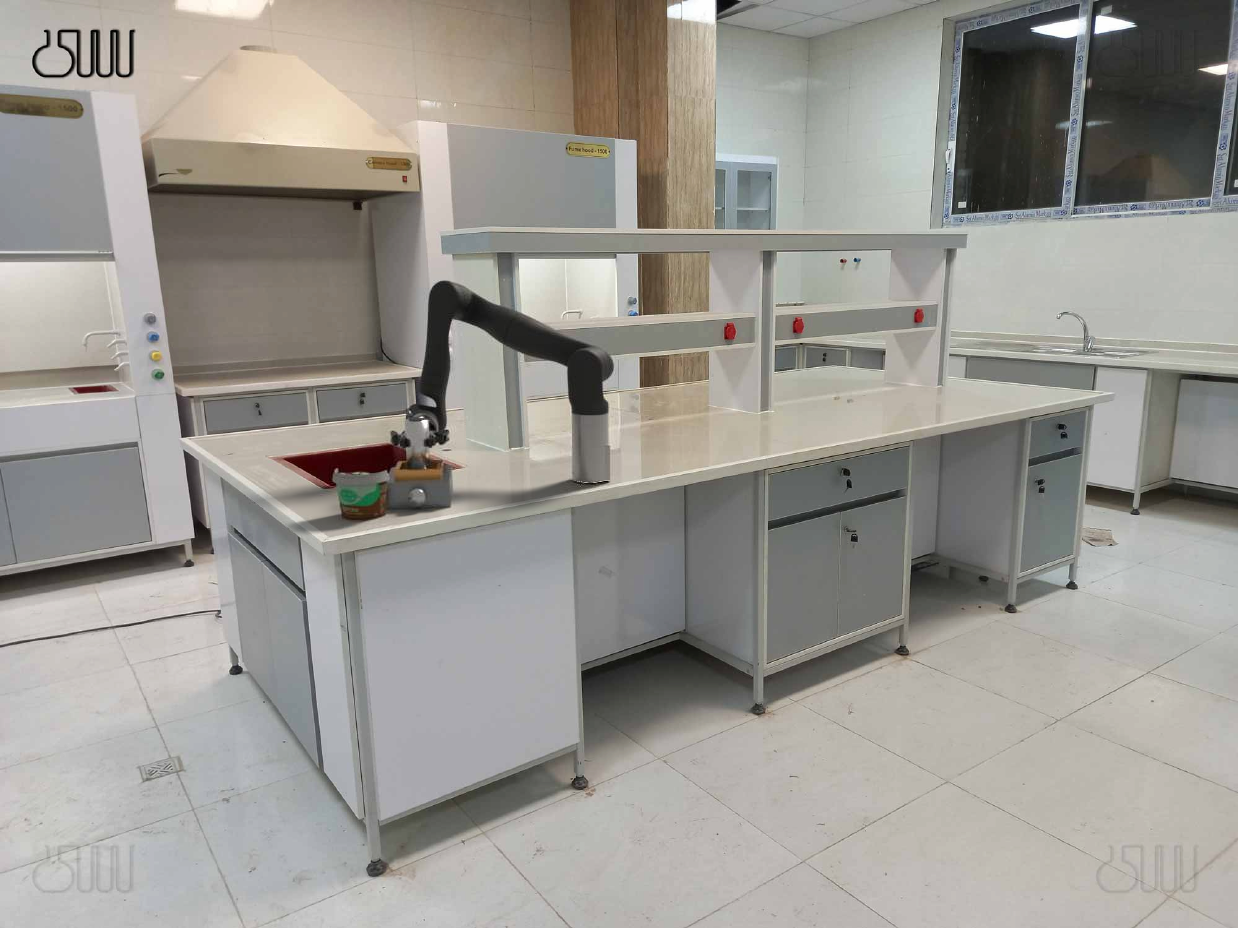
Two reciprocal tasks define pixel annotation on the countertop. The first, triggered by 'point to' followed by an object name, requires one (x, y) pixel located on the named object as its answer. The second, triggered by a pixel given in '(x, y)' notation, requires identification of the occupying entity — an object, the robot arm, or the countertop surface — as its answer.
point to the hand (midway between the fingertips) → (416, 443)
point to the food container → (361, 494)
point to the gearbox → (419, 486)
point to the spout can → (417, 441)
